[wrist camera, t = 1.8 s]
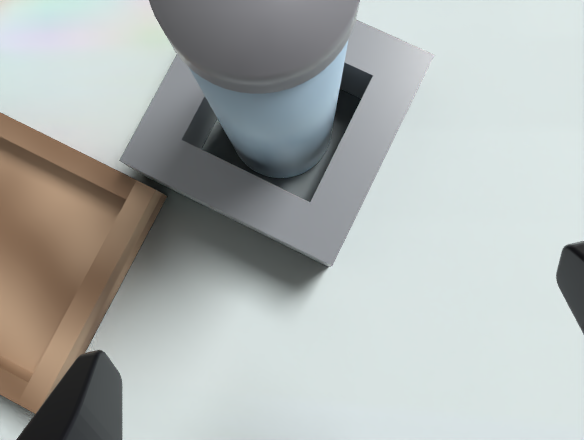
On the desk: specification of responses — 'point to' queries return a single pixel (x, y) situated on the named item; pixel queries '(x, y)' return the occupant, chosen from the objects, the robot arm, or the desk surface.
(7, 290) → the tray
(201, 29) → the ball
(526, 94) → the desk surface
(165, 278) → the desk surface
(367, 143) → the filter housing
